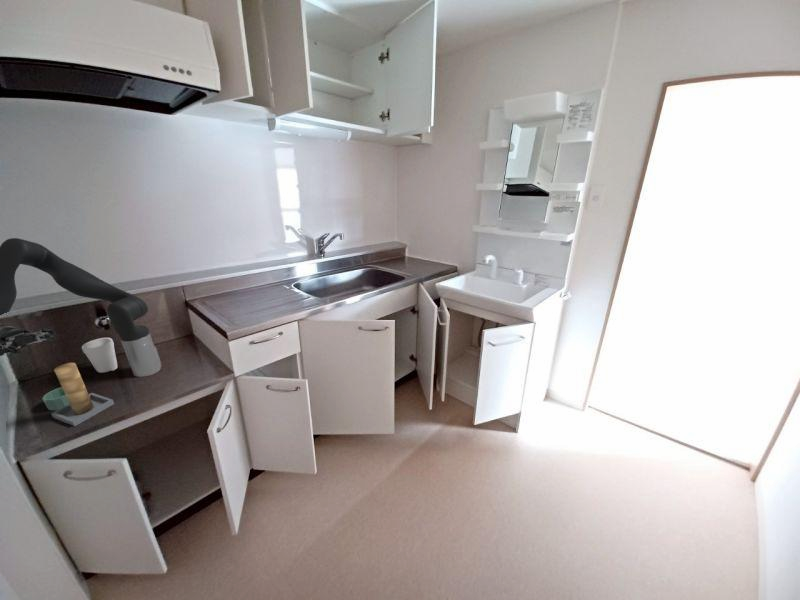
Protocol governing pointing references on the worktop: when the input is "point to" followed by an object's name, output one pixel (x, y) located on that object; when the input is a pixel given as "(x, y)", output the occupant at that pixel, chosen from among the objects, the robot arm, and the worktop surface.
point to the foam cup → (101, 354)
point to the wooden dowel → (74, 388)
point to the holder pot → (55, 399)
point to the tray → (72, 419)
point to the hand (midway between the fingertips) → (36, 344)
